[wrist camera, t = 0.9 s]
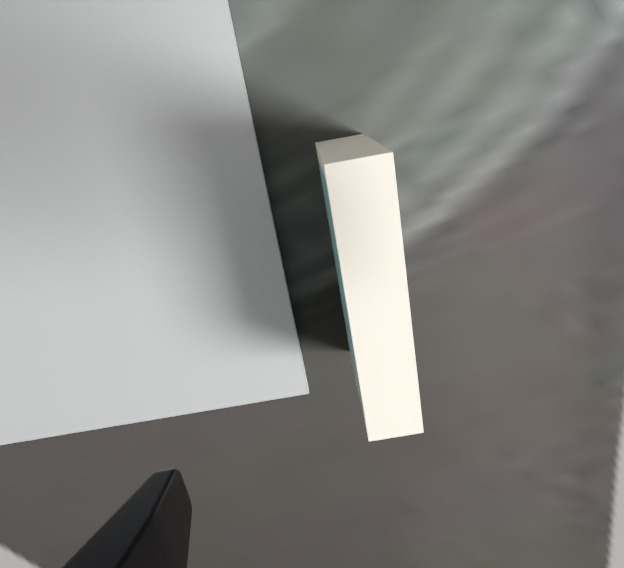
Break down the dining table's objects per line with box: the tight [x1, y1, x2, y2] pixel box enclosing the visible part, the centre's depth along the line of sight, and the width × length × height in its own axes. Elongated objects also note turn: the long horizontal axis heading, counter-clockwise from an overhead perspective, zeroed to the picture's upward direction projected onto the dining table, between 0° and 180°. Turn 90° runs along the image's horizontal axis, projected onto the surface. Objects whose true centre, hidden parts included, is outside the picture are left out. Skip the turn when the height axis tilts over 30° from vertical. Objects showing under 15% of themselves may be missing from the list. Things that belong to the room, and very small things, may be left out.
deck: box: [315, 134, 424, 441], centre depth 17 cm, size 9×2×6 cm, turn 10°
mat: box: [0, 0, 309, 445], centre depth 18 cm, size 20×16×1 cm
